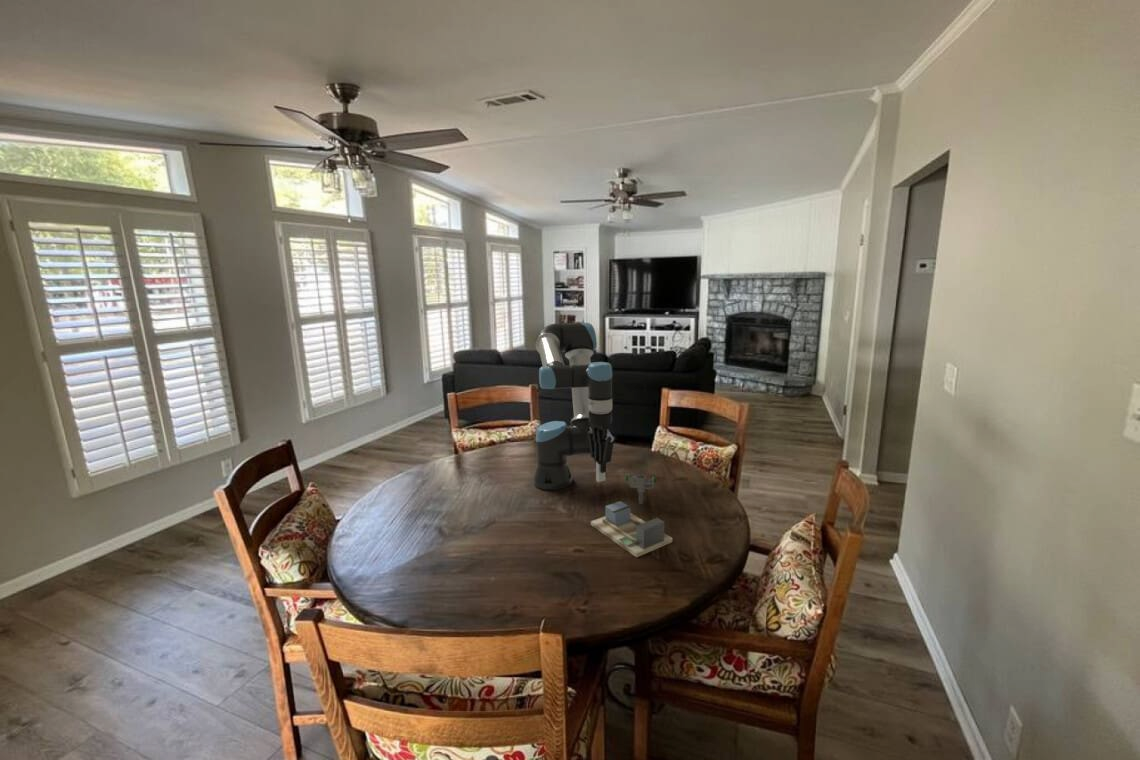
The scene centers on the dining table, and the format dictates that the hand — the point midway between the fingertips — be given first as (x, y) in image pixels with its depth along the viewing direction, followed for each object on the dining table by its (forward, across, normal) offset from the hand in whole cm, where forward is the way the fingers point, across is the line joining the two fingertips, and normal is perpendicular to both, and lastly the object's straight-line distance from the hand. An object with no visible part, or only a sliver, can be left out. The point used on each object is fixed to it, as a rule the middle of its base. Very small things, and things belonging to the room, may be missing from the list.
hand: (600, 480), depth 154 cm
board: (+12, +14, 0) cm, 19 cm away
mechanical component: (+12, +2, +16) cm, 20 cm away
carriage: (+11, +9, 0) cm, 14 cm away
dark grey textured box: (+11, +24, 0) cm, 26 cm away
